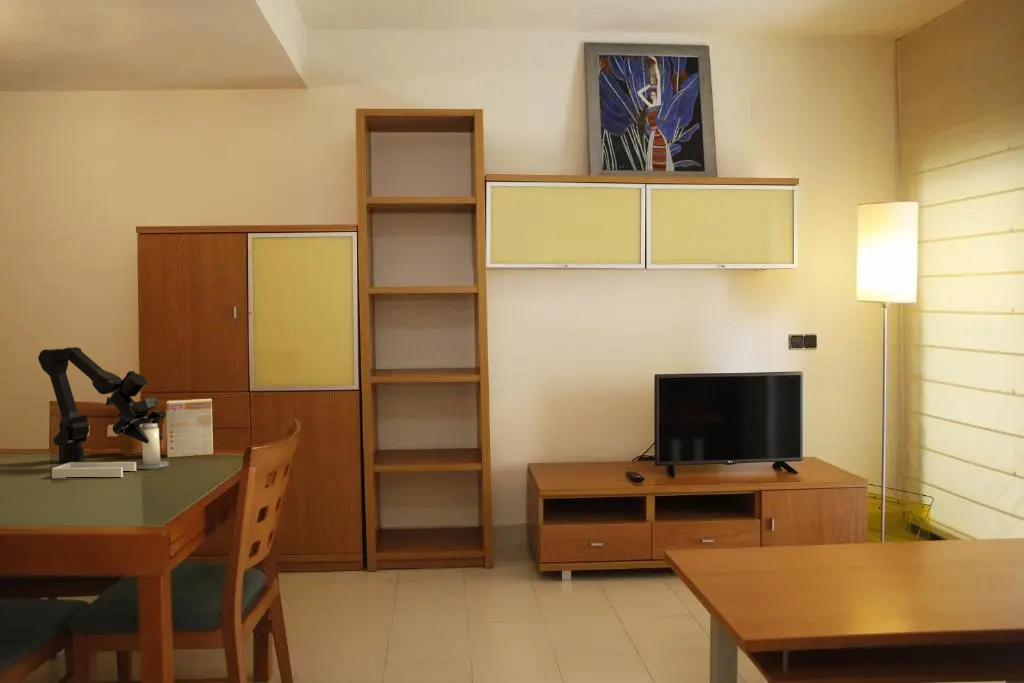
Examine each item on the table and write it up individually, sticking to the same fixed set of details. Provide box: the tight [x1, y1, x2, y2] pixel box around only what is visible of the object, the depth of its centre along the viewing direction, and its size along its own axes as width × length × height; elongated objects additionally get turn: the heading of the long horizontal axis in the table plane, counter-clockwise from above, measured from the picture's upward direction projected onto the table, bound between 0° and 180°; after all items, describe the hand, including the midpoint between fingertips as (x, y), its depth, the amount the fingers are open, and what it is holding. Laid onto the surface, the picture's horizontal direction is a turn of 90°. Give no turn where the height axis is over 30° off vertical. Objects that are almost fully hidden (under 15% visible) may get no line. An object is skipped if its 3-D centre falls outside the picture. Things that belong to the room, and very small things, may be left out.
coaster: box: [136, 460, 169, 470], centre depth 262 cm, size 10×10×1 cm
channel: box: [51, 461, 137, 479], centre depth 250 cm, size 21×10×3 cm, turn 91°
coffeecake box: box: [165, 398, 214, 458], centre depth 284 cm, size 15×7×20 cm, turn 110°
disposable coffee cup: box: [117, 424, 143, 456], centre depth 286 cm, size 10×10×12 cm
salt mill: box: [141, 423, 161, 465], centre depth 262 cm, size 5×5×13 cm
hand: (154, 440), depth 261 cm, fingers open, 6 cm apart
